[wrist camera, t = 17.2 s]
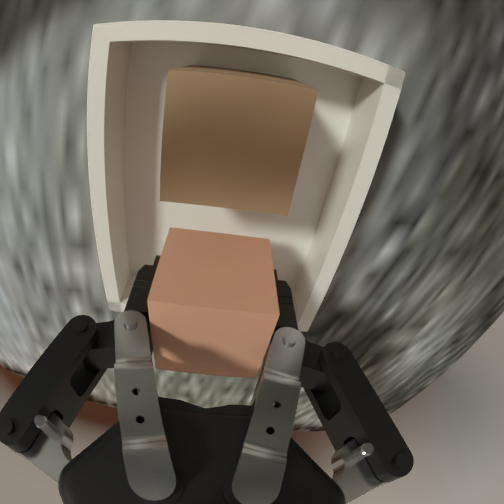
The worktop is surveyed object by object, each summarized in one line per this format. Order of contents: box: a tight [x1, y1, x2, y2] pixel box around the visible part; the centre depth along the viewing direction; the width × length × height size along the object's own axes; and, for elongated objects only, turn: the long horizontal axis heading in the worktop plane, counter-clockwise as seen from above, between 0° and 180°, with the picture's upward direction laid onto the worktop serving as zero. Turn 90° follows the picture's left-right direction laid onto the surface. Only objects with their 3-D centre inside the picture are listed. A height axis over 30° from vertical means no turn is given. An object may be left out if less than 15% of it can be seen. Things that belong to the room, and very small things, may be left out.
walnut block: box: [160, 65, 318, 216], centre depth 11 cm, size 4×4×4 cm
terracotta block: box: [147, 227, 280, 378], centre depth 13 cm, size 4×4×4 cm
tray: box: [87, 20, 406, 332], centre depth 14 cm, size 15×12×4 cm
